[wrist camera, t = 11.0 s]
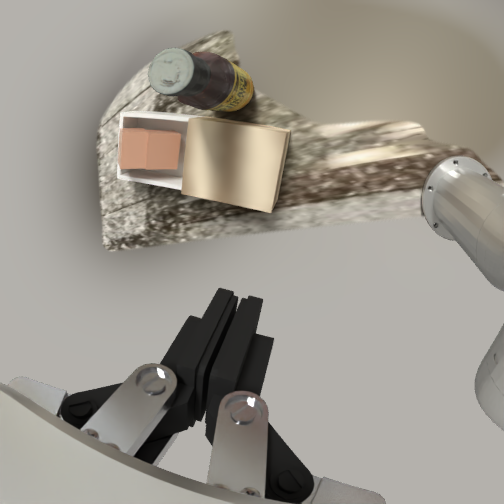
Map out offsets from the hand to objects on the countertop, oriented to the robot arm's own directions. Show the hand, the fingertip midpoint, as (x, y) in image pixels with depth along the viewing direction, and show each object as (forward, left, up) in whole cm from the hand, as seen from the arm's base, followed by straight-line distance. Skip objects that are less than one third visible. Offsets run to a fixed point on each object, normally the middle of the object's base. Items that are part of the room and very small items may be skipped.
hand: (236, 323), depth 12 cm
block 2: (+18, +1, -28) cm, 34 cm away
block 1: (+21, 0, -29) cm, 36 cm away
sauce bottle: (+11, -9, -33) cm, 36 cm away
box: (+20, +1, -33) cm, 39 cm away
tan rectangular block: (+8, +1, -33) cm, 34 cm away
